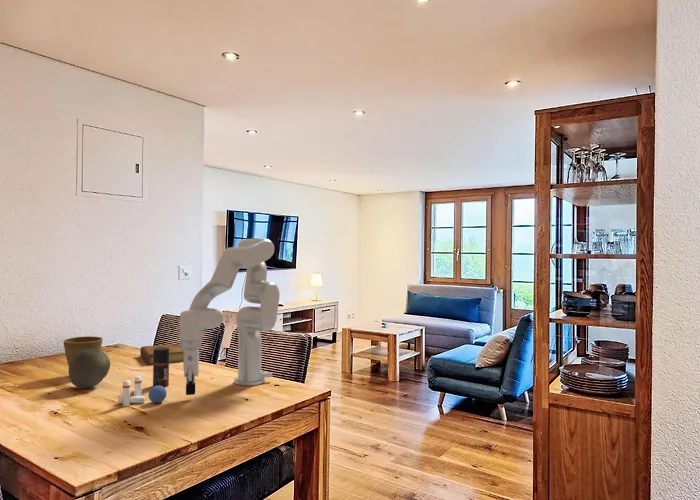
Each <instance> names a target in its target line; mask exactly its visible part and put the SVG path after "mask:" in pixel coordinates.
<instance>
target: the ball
mask: <svg viewBox="0 0 700 500" xmlns="http://www.w3.org/2000/svg"><path fill="white" fill-rule="evenodd" d="M167 395H168V394H167V390H166V387H162V386H154V387H153V386H152V388H150V390H149V392H148V399H149V401H150V402H152V403H153V404H159V403H162V402H163V401H165V399H166V397H167Z"/></svg>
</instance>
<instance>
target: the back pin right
mask: <svg viewBox="0 0 700 500" xmlns="http://www.w3.org/2000/svg"><path fill="white" fill-rule="evenodd" d="M142 377H143V376H142V375H141V376H140V375H137V376H134V380H133V381H134V382H133V383H134V387H133V388H134V390H133V391H134V394H133V395H134V396H143V395H142V393H143V392H142V387H143V384H142V383H143V378H142Z"/></svg>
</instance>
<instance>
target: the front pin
mask: <svg viewBox="0 0 700 500" xmlns="http://www.w3.org/2000/svg"><path fill="white" fill-rule="evenodd" d="M145 402H146V397H145V395H142V396H133V395H130V404H144V403H145ZM122 403H123V396H118V398H117V404H119V405H120V404H122Z"/></svg>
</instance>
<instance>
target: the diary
mask: <svg viewBox="0 0 700 500" xmlns="http://www.w3.org/2000/svg"><path fill="white" fill-rule="evenodd" d="M161 347H166V348H169V364H171V363H173V364H174V363H182V362H183V350H181V349H180V343H169V344H157V345H145V346H143V345H142V346H141V347H140V354H139V355H140V357H141V358H142V359H143V361H144V362H145V363H146V364H147V365H148V366H153V352H154V349H155V348H161Z"/></svg>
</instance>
